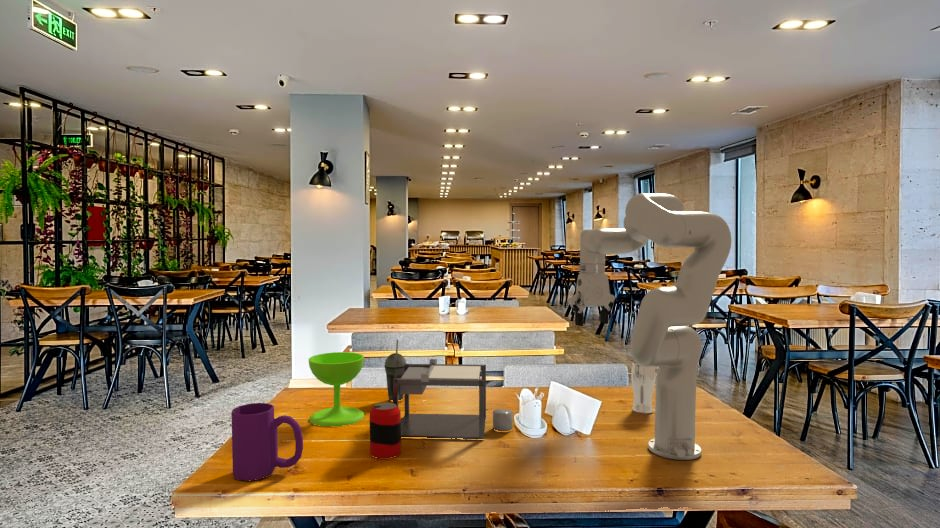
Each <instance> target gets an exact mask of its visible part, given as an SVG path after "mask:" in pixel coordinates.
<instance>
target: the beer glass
mask: <svg viewBox="0 0 940 528" xmlns="http://www.w3.org/2000/svg"><path fill="white" fill-rule="evenodd" d="M655 367H656V366H653V367H646V366H642V365H640V364H638V363H637V362H636V361H635V360H633V361H632V363H631V375H630V376H631V377H630V379H631V387H632V393H633V394H632V395H633V404H632V411H633V412H634V413H637V414H647V415H648V414H652V413H653V412H654V408H653V401H652V400H653V394H654V389H655V385H656V368H655Z"/></svg>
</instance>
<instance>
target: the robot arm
mask: <svg viewBox="0 0 940 528" xmlns="http://www.w3.org/2000/svg"><path fill="white" fill-rule="evenodd" d="M624 211H625V217H624V219H623V228H619V227H617V228H616V227H615V228H614V227H612V228H610V227H609V228H595V229H590V228H589V229H583V230H581V232H580V235H579V237H580V239H579V240H580V241H579V242H580V243H579V244H580V245H579V247H580V249H579V250H580V252H579V255H580V256H579V259H580V260H579V265H578V266H577V271H579V274H578V275H577V280H576V287H575V288H576V289H575V294H573V295H572V296H570V297H569V298H568V299H567V301H568V304H569V306H570V308H571V309H572V311H573V313H574V322H575V323H574V324H575V326H578V327H583V326H584V313H583V311H584V309H585V308H593V307H594V308H596V307H600V308H601V309H600V311H599V313H600V314H599V322H600V323H601V324H605V325H608V324H609V312H610V311H611V308H612V307H613V305H614V301H615V299H616V296H615V295H614V294H611V293H610V284H609V283H610V282H609V278H608V277H609V276H608V274H607V273H606V255H610V254H611V255H613V254H616V255H617V254H619V255H621V254H629V253H633V252H636V251H637V250H639V249H641V248H643V247H645V246H646V245H647V243H648V241H649V240H650V242H652V243H654V244H655V245H658V246H660V247H662V248H669V249H671V248H672V249H675V248H676V249H677V248H678V249H680V248H682V249H683V248H686V249H687V248H694V251H692V253H691V254H690V255H689V256H688V257H687V258H686V259H685V261H684V262H683V263H682V265H681V267H680V269H679V273H678V276H677V279H676V282H675V284H674V285H672V286H661V287H660V286H659V287H656V288H652V289H650V290H649V291H648V292H647V293H646V294H645V295H644V297H643V298H642V300H641V302H640V305H639V309H638V312H637V315H636V316H637V317H636V320H635V323H634V327H633V330H632V334H631V339H630V347H629V348H630V353H631V356H632V359H633V361H636V362H637V363H638V364H640V365H642V366H646V367H653V366H655V367H659V368H658V371H657V374H656V375H655V386H654V389H655V398H654V438H652V439H650V440H649V441H648V443H647V449H649V450H650V452H652V453H653V454H655V455H657V456H658V457H659V456H660V457H662V458H665V459H670V460H676V461H677V460H679V461H690V460H695V459H698V458H699V457H701V455H702V447H701V446H700V445H699V444H697V443H696V410H697V409H696V407H697V405H696V403H697V402H696V401H697V396H696V395H697V377H698V367H699V363H700V359H701V354H702V349H703V348H702V347H703V346H702V345H703V343H702V340H701V336H700V335H699V333H698V332H697V330H695V329H694V328H693V327H690V326H695V325H698V324H700V323H702V322H703V320H705V318H706V315H707V313H708V310H709V308H710V305H711V304H710V303H711V301H712V298H713V295H714V292H715V289H716V286H717V283H718V280H719V278H720V275H721V273H722V271H723V270H722V269H723V268H724V266H725V263H726V262H727V260H728V258H729V255H730V252H731V249H732V248H731V247H732V232H731V230H730V227H729V224H728V223H727V221H726V220H725V219H724V218H722V217H721V216H719V215H717V214H716V213H712V212H707V211H691V210H690V211H686V210H685V205H684V203H683V202H682V201H681V199H679V197H678V196H676V195H673V194H669V193H652V192H651V193H647V192H646V193H645V192H643V193H641V192H640V193H637V194H635V195H633V196H632V197H631V198H630V199H629V200H628V201H627V204H626V206H625V210H624Z"/></svg>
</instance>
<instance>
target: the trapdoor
mask: <svg viewBox="0 0 940 528" xmlns="http://www.w3.org/2000/svg"><path fill="white" fill-rule="evenodd" d="M480 370H481V366H435V365H433V364H432V365H431V366H430V367H409V368H408V369H407V370H406V372H405V373H404V375H403V376H402V377H401V378H411V379H421V374H422V373H429V379H479V380H480V374H481V371H480ZM426 389H427V386H425V385H400V394H403V395H405V394H409V395H423V394H424V393H425V390H426Z"/></svg>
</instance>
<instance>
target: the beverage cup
mask: <svg viewBox="0 0 940 528" xmlns="http://www.w3.org/2000/svg"><path fill="white" fill-rule="evenodd" d="M398 350H399V339H396V348H395V353H391V354H389V355H388V356H387V357H386V359H385V362H384V365H383V366H384V371H385V377H386V386H387V396H388V401H389V400H393V379H394V378H401V377H402V376H403V375H404V364H407V361H406V358H405V357H404V356H403V355H402V354H401V353H398ZM401 399H403V400H404V394H400V385H398V400H401Z"/></svg>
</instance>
